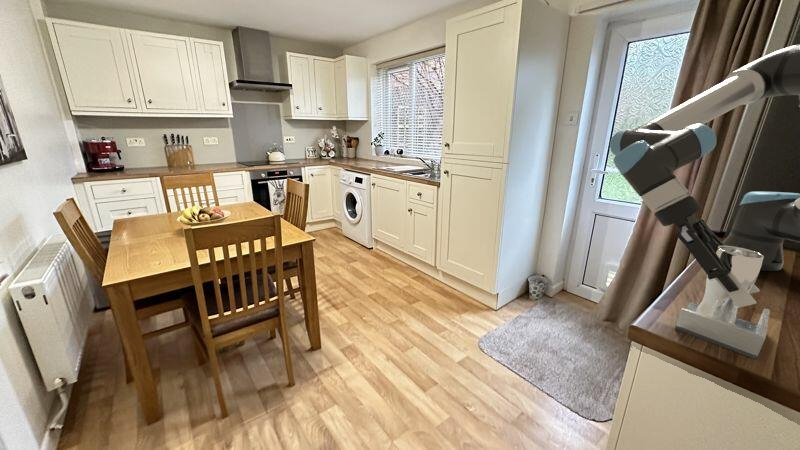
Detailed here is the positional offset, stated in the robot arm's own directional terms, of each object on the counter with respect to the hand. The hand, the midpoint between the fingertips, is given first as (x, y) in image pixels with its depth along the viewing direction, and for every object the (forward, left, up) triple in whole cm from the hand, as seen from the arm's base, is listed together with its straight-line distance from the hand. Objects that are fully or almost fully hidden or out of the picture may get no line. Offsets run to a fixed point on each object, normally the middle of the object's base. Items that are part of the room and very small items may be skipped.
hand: (749, 298), depth 64 cm
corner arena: (+2, -1, -9) cm, 9 cm away
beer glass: (+4, -1, -6) cm, 7 cm away
